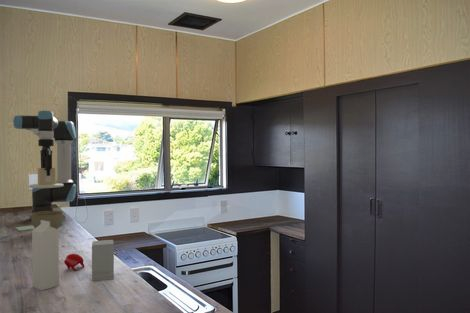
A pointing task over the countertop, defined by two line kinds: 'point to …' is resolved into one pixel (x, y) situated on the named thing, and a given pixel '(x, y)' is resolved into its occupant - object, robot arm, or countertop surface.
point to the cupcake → (62, 217)
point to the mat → (25, 228)
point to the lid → (42, 180)
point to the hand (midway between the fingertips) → (46, 181)
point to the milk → (45, 256)
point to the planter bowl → (47, 218)
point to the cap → (73, 261)
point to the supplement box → (102, 260)
